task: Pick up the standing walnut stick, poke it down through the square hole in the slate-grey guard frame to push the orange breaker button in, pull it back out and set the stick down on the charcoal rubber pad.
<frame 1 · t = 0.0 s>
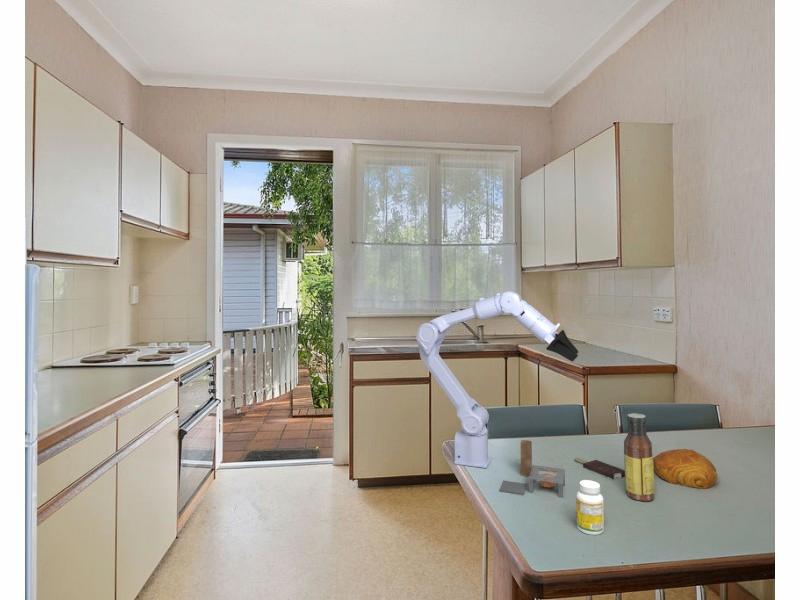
hand: (575, 356, 122), 32 cm above the table, tool tilted 50°, fingers open, 7 cm apart
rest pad: (513, 488, 116), on the table
guard frame: (547, 488, 115), on the table
sauce bottle: (639, 497, 110), on the table
supplement bottle: (589, 529, 96), on the table
ice cream bar: (597, 470, 127), on the table
stylus stick: (526, 474, 124), on the table
breaker button: (547, 480, 115), point 2 cm above the table, slide at 0.0 cm
croissant: (683, 478, 121), on the table
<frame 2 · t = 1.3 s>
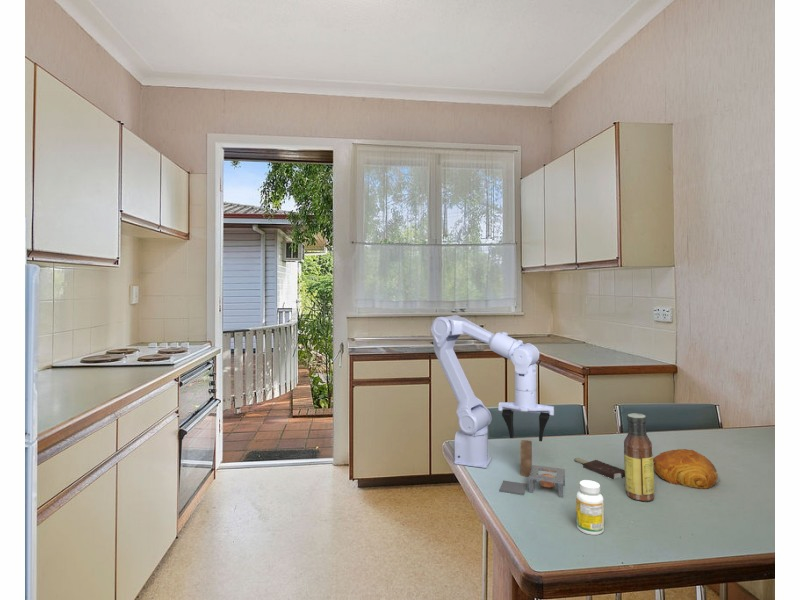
hand: (526, 438, 124), 10 cm above the table, tool pointing down, fingers open, 7 cm apart
nothing on the table moved.
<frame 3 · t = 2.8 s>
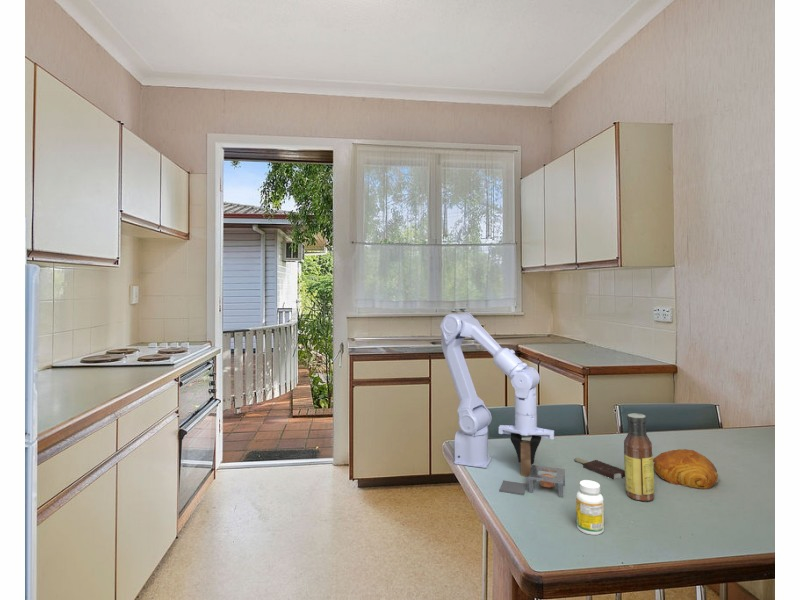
hand: (526, 462, 124), 3 cm above the table, tool pointing down, fingers closed on stylus stick, 3 cm apart
stylus stick: (526, 474, 124), on the table, touching gripper
everything else where it was.
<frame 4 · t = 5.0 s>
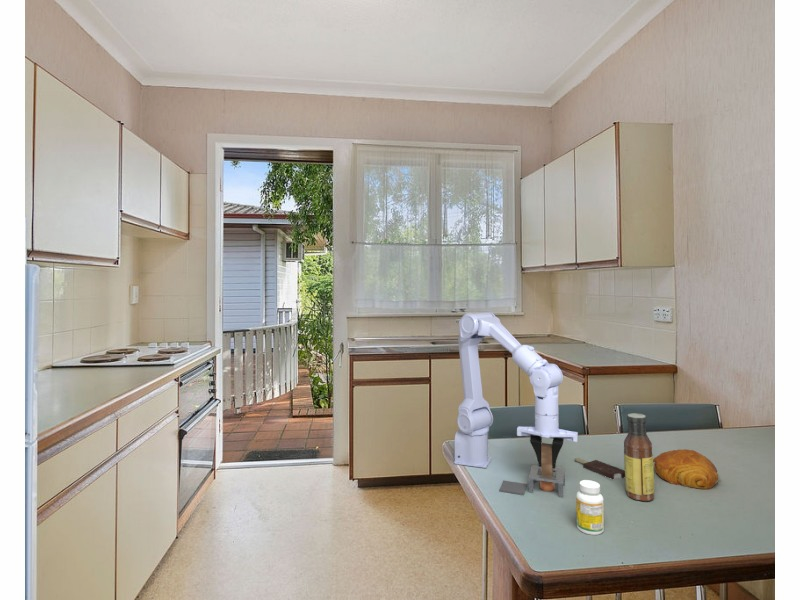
hand: (547, 466, 115), 6 cm above the table, tool pointing down, fingers closed on stylus stick, 3 cm apart
stylus stick: (547, 480, 115), point 2 cm above the table, touching breaker button, gripper
breaker button: (547, 484, 115), point 1 cm above the table, slide at 1.0 cm, touching stylus stick
everything else where it was.
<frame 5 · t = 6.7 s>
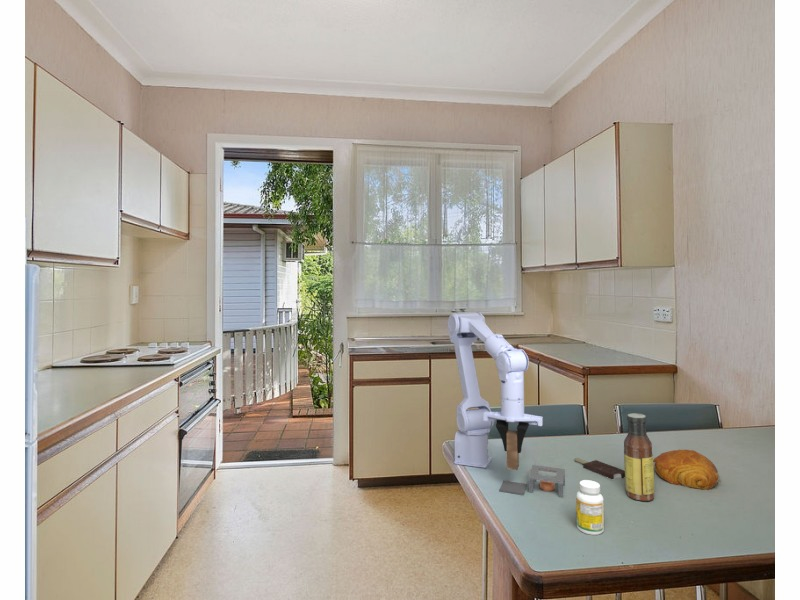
hand: (512, 450, 116), 10 cm above the table, tool pointing down, fingers closed on stylus stick, 3 cm apart
stylus stick: (512, 467, 115), point 6 cm above the table, touching gripper
breaker button: (547, 484, 115), point 1 cm above the table, slide at 1.0 cm
everything else where it was.
when the fingers open (5 cm above the table, at t = 7.8 s): stylus stick stays where it is, resting on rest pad.
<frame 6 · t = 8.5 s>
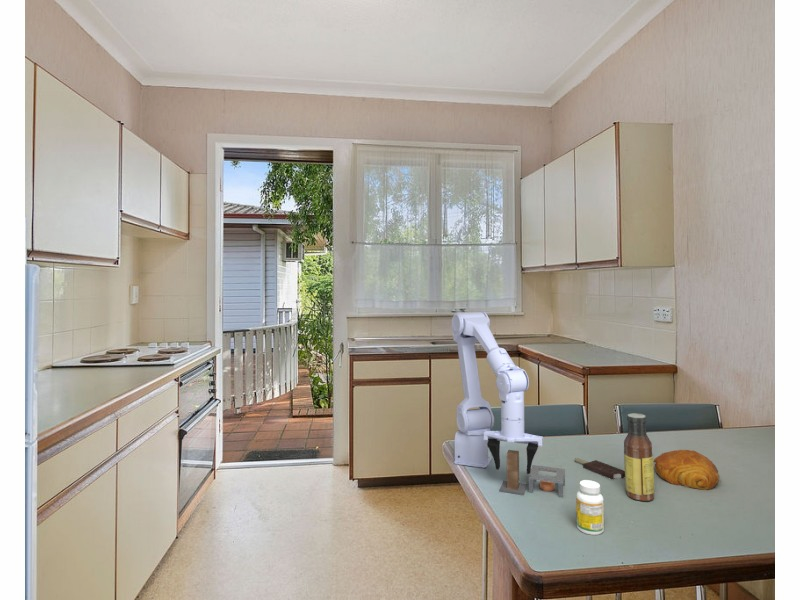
hand: (513, 470, 116), 5 cm above the table, tool pointing down, fingers open, 7 cm apart
stylus stick: (513, 487, 116), resting on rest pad
everything else where it was.
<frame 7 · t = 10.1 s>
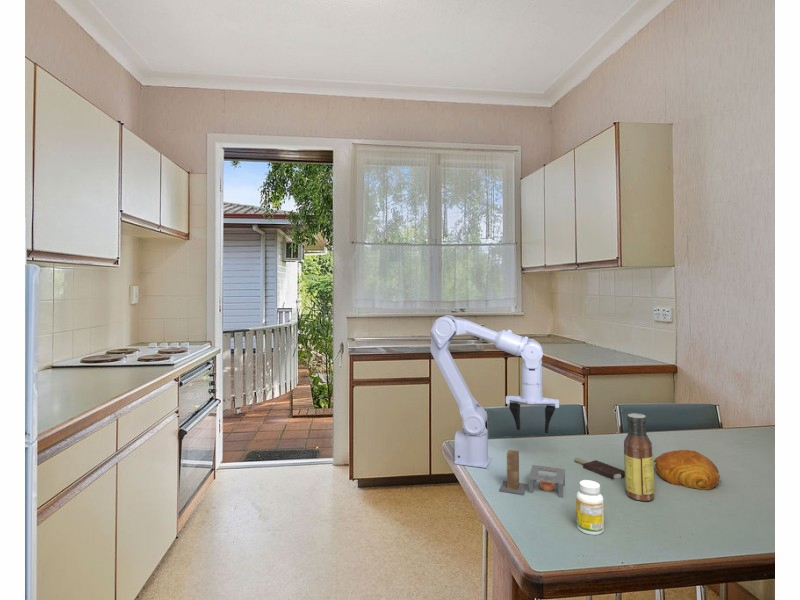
hand: (532, 430, 129), 10 cm above the table, tool pointing down, fingers open, 7 cm apart
nothing on the table moved.
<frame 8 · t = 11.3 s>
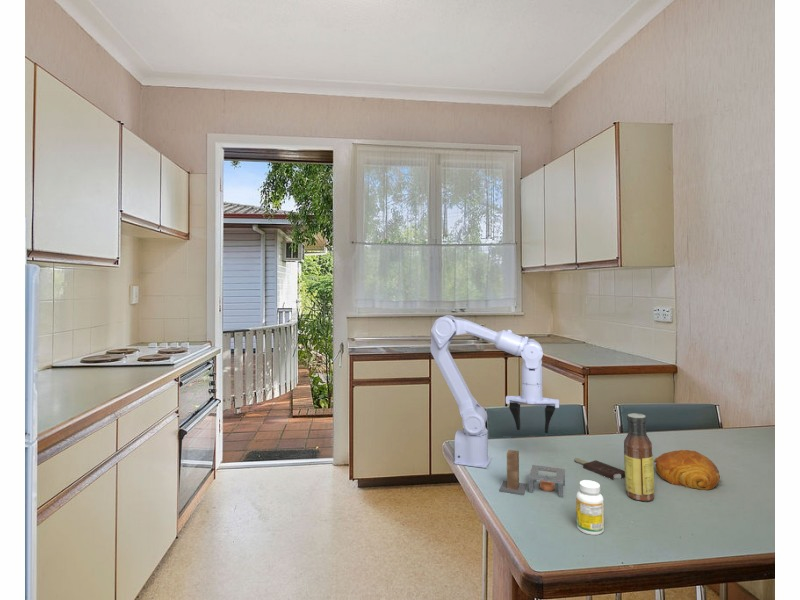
hand: (532, 430, 129), 10 cm above the table, tool pointing down, fingers open, 7 cm apart
nothing on the table moved.
at the end: breaker button slide at 1.0 cm; stylus stick inside the target area on the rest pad (0.2 cm from its centre), point 0.4 cm above the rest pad's base; the gripper is holding nothing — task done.
